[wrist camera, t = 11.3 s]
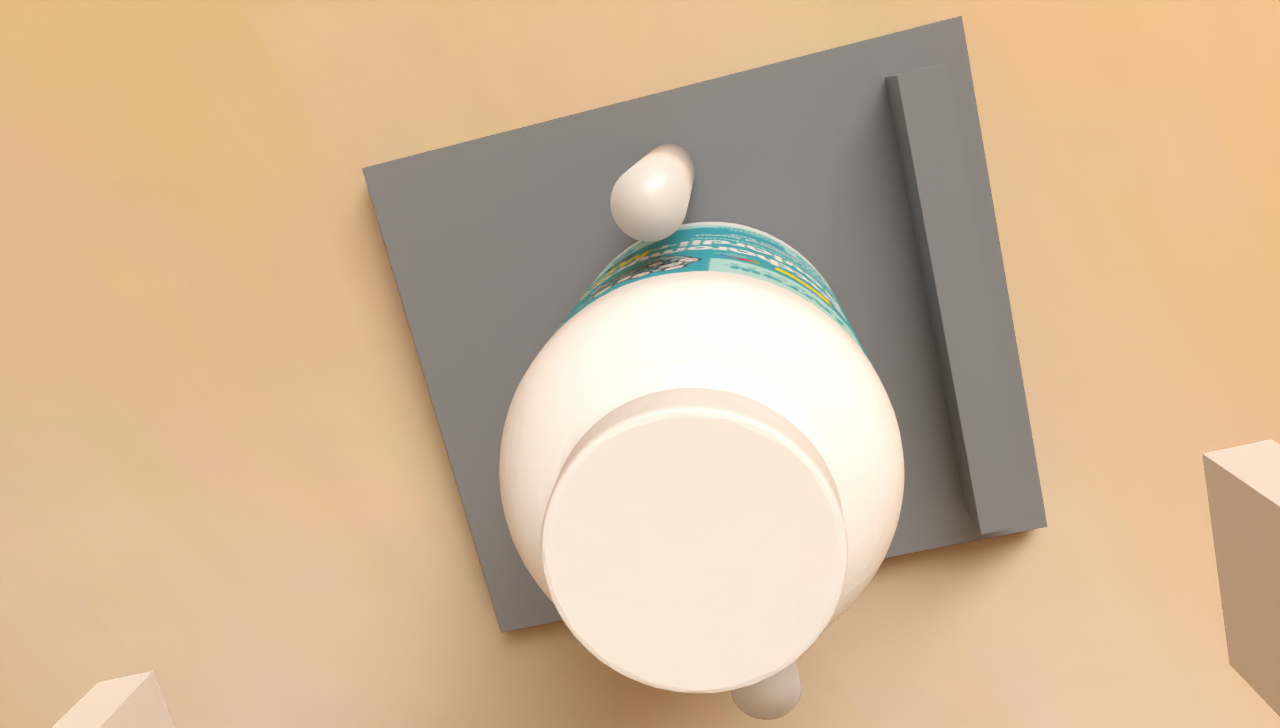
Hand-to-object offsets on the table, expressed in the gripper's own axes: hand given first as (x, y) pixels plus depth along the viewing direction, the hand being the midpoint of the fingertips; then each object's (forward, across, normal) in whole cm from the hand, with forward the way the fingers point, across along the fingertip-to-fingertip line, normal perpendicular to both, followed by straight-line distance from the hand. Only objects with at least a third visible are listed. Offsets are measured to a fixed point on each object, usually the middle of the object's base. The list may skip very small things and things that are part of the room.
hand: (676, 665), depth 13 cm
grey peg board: (+18, +1, 0) cm, 18 cm away
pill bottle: (+17, +1, 0) cm, 17 cm away
